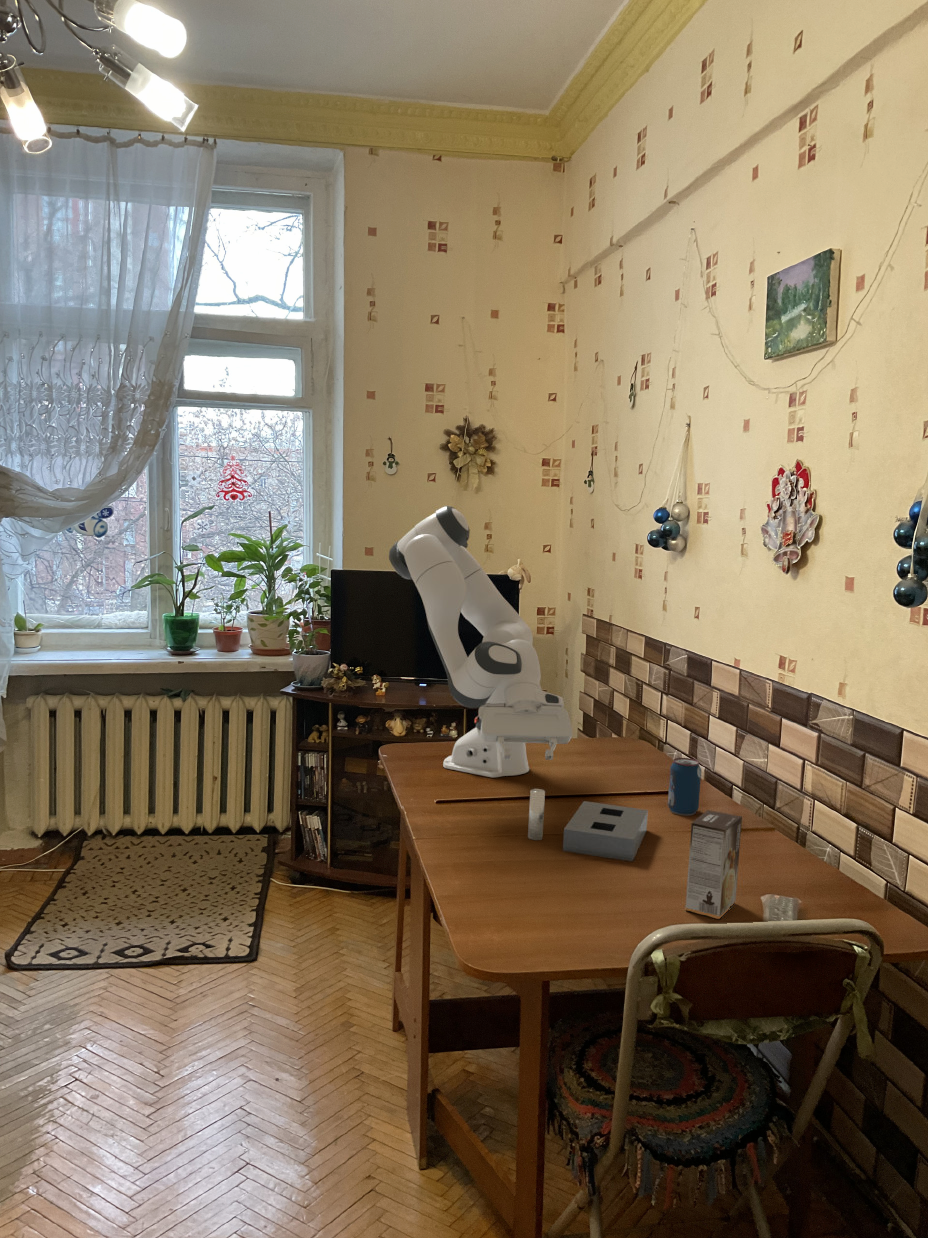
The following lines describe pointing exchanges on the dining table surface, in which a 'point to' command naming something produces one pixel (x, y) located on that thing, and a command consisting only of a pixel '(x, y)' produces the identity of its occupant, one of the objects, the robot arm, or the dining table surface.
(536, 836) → the steel pin
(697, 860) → the coffee box
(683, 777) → the soda can
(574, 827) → the grey peg hole block
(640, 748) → the dining table surface
